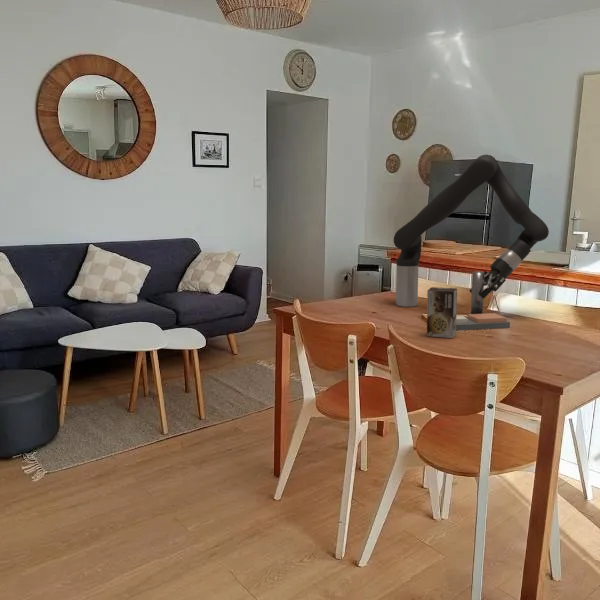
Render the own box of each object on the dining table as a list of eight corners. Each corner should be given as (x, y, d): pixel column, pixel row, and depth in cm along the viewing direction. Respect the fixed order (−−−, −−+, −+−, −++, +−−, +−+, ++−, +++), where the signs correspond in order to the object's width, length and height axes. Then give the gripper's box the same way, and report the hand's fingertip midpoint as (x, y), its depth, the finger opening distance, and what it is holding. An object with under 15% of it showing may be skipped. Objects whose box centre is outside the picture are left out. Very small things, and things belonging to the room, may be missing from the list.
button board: (440, 324, 214) (440, 319, 214) (496, 321, 217) (496, 316, 217) (451, 330, 204) (451, 325, 204) (509, 327, 208) (510, 322, 207)
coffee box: (456, 334, 200) (458, 288, 196) (452, 338, 194) (454, 291, 191) (429, 331, 203) (431, 286, 200) (425, 336, 198) (427, 289, 194)
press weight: (464, 317, 225) (466, 271, 222) (480, 316, 226) (482, 270, 223) (472, 321, 219) (474, 273, 215) (488, 320, 220) (491, 273, 216)
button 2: (467, 319, 214) (468, 314, 214) (494, 318, 216) (495, 313, 216) (477, 324, 207) (478, 319, 206) (505, 323, 208) (505, 317, 208)
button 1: (448, 321, 212) (448, 316, 211) (461, 321, 212) (461, 315, 212) (454, 324, 207) (454, 319, 206) (467, 324, 208) (467, 318, 207)
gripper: (490, 255, 226) (461, 285, 227) (509, 259, 212) (478, 291, 213) (502, 268, 228) (473, 298, 228) (521, 273, 214) (491, 305, 215)
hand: (476, 294), depth 221 cm, fingers open, 8 cm apart
